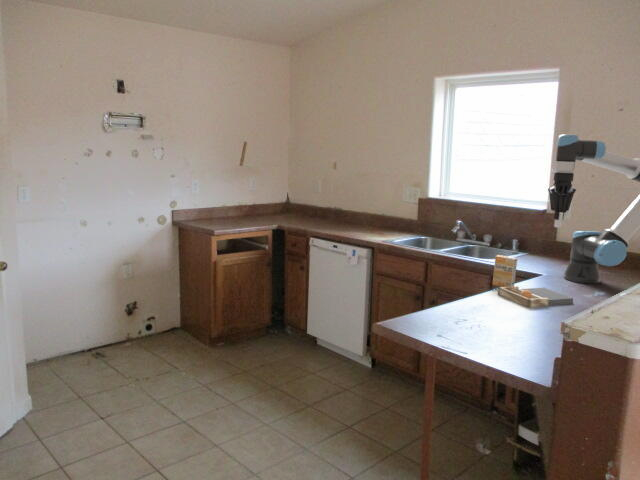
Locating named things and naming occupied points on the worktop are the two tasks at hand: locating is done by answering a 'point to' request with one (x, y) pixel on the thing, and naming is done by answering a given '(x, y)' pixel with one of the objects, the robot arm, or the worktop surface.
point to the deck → (548, 296)
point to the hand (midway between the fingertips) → (557, 227)
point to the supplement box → (504, 271)
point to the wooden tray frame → (521, 297)
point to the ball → (526, 294)
